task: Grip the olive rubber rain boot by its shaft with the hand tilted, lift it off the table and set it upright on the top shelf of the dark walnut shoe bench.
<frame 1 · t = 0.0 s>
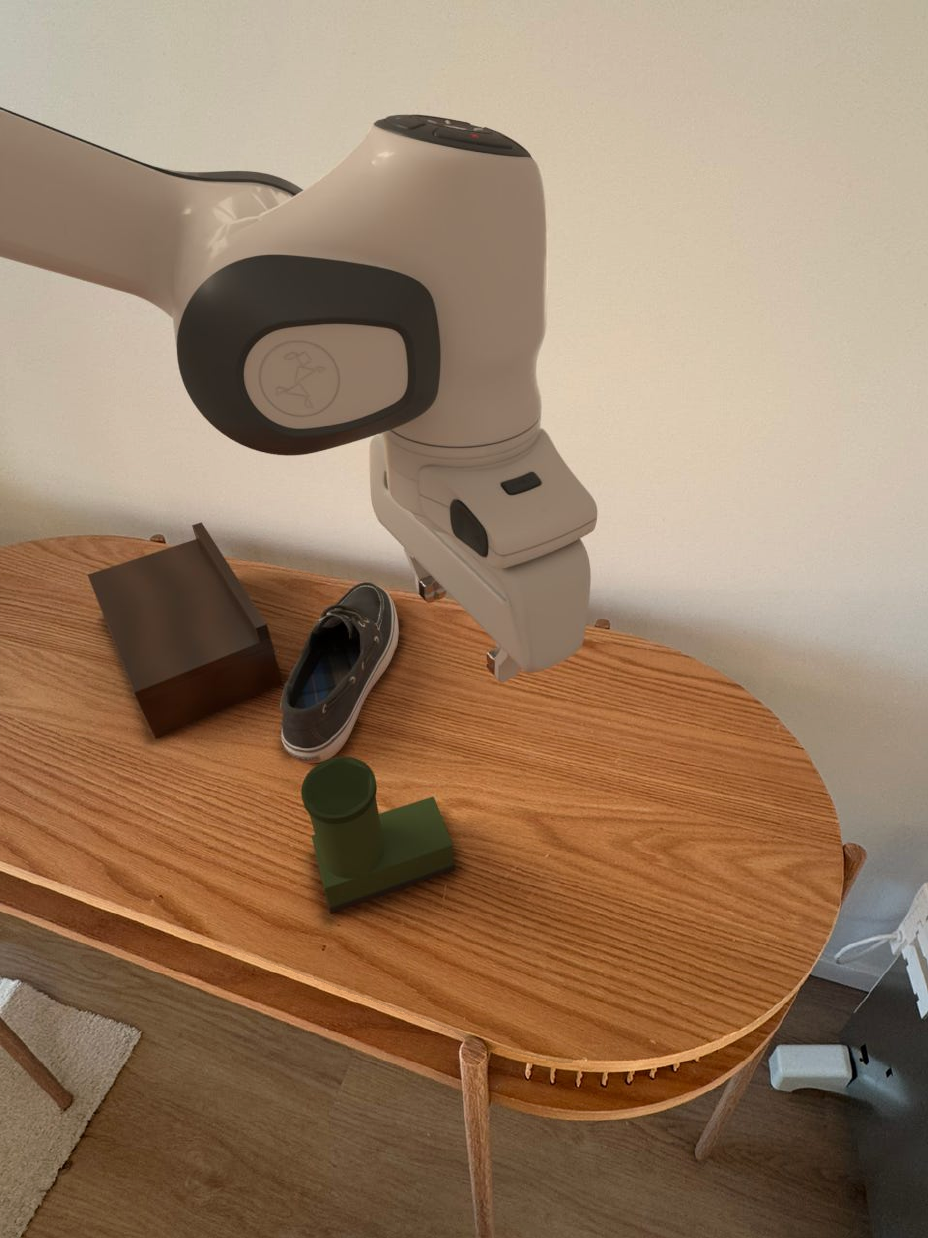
hand: (465, 632, 51), 24 cm above the table, tool pointing down, fingers open, 8 cm apart
shoe bench: (191, 650, 85), on the table
boat shoe: (343, 676, 82), on the table
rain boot: (358, 874, 64), on the table
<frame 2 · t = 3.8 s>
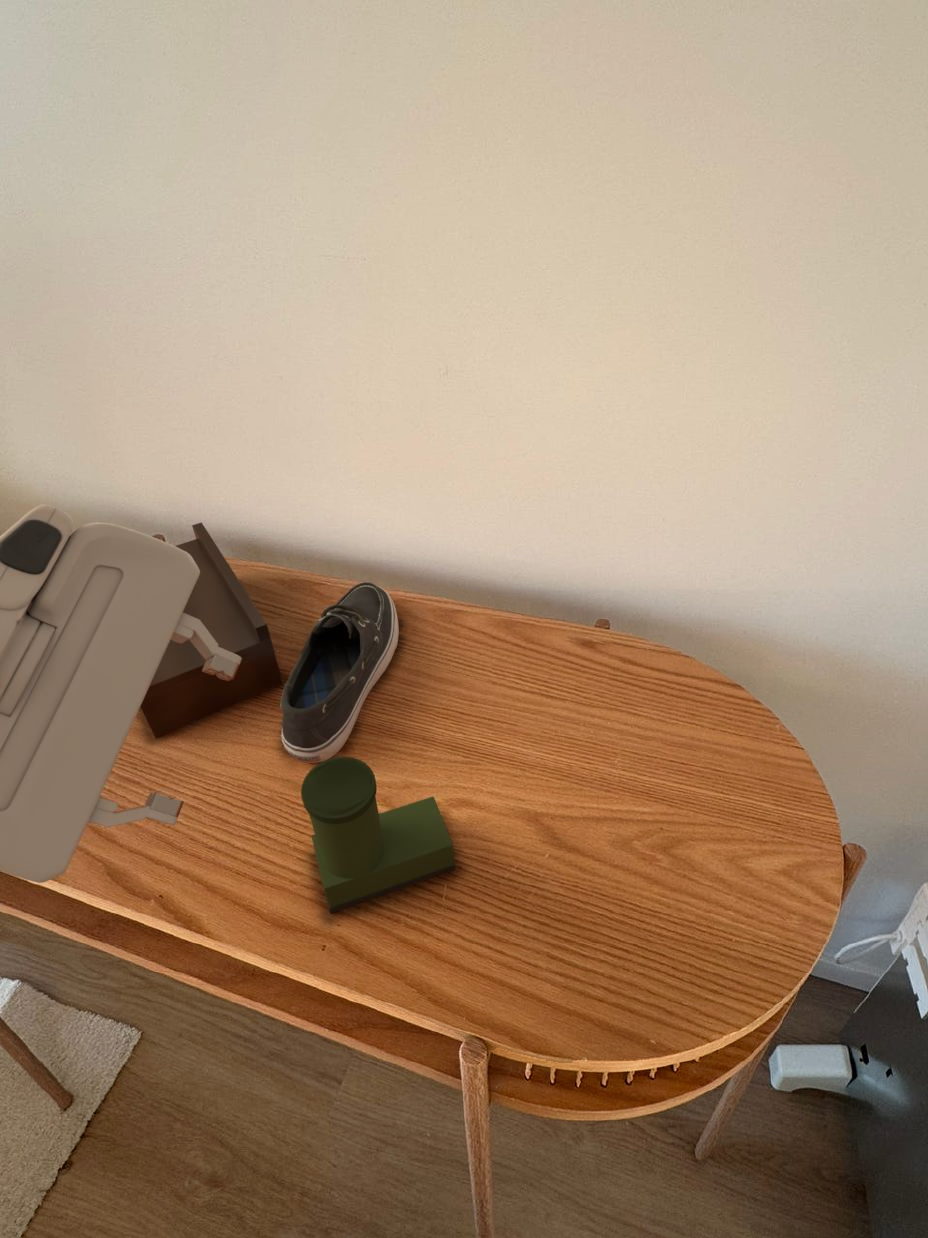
hand: (207, 738, 46), 23 cm above the table, tool tilted 50°, fingers open, 8 cm apart
nothing on the table moved.
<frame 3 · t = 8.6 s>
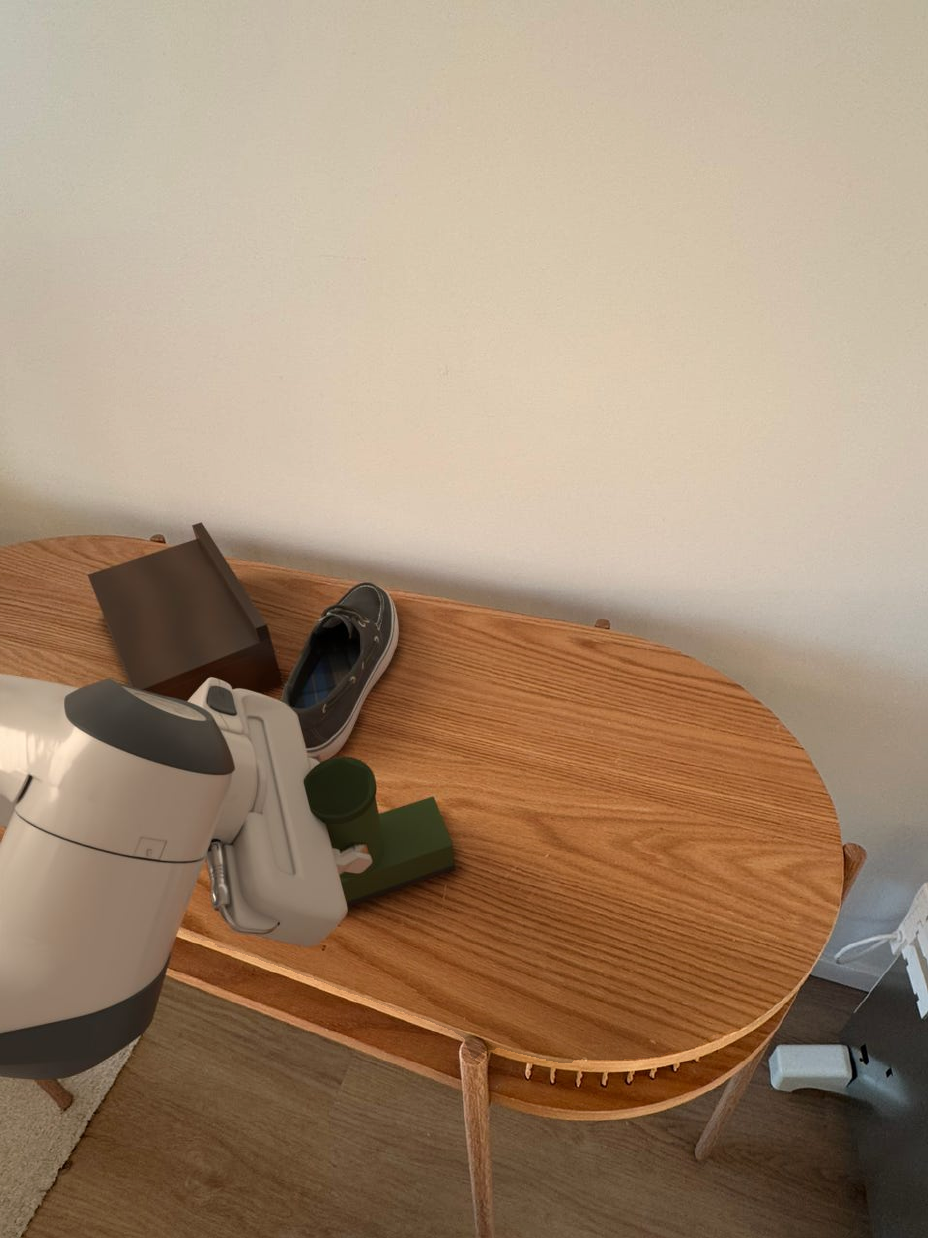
hand: (355, 824, 59), 7 cm above the table, tool tilted 45°, fingers closed on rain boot, 5 cm apart
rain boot: (358, 873, 64), on the table, touching gripper
everything else where it was.
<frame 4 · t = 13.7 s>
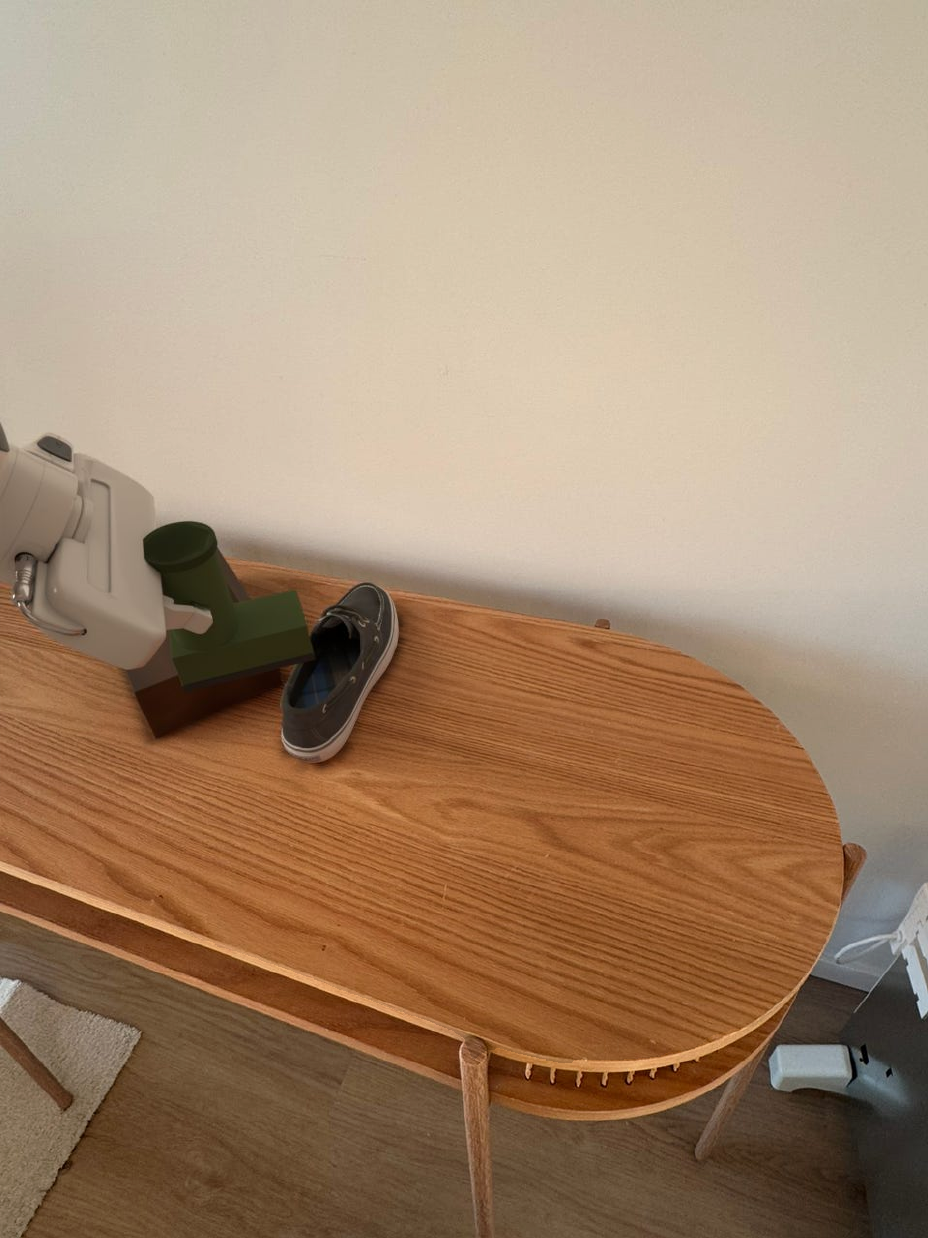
hand: (204, 596, 59), 21 cm above the table, tool tilted 45°, fingers closed on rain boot, 5 cm apart
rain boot: (218, 662, 64), point 14 cm above the table, touching gripper
everything else where it was.
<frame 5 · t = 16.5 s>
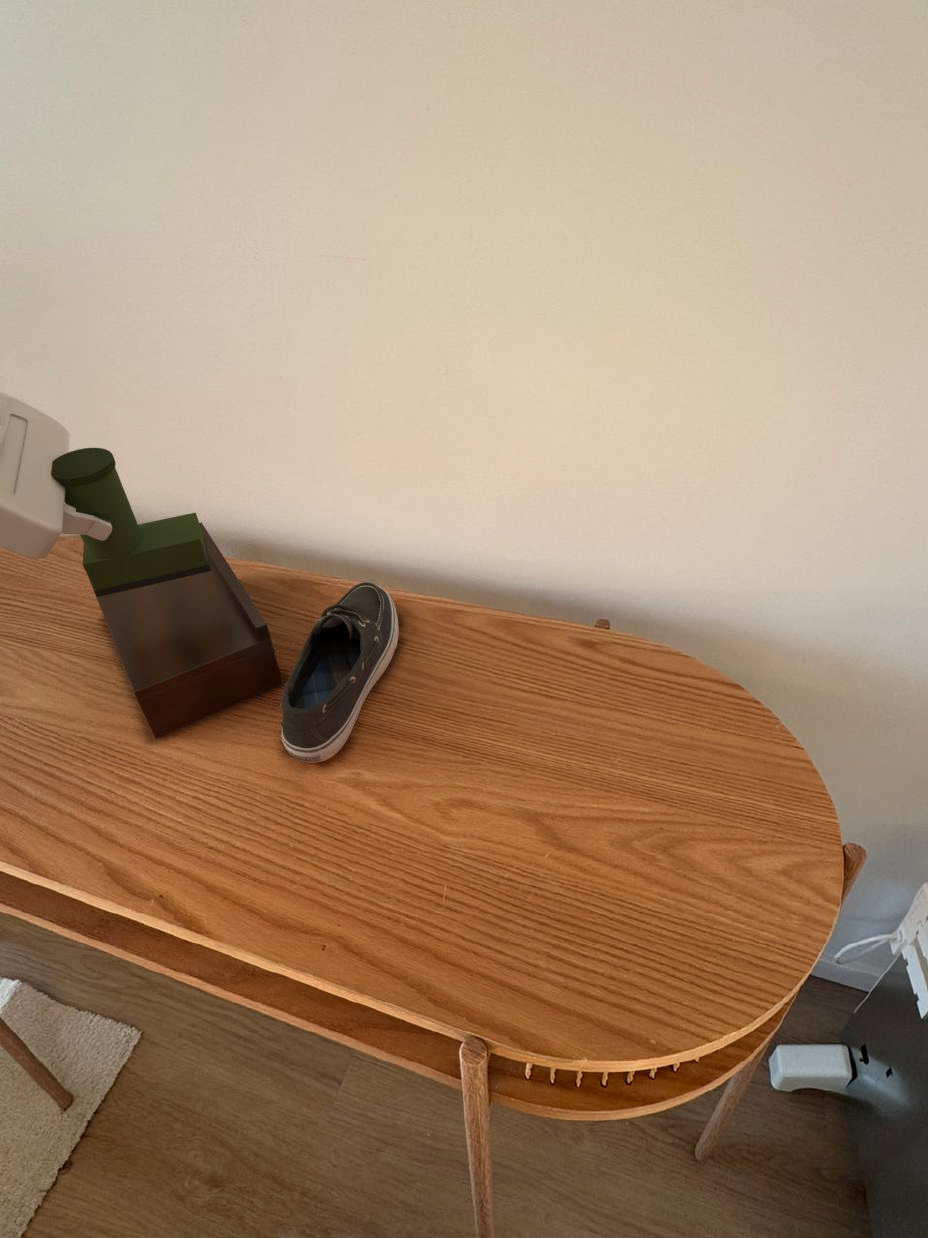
hand: (109, 512, 70), 20 cm above the table, tool tilted 45°, fingers closed on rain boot, 5 cm apart
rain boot: (128, 574, 75), point 13 cm above the table, touching gripper
everything else where it was.
when the fingers open (14 cm above the table, at t = 18.6 s): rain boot stays where it is, resting on shoe bench.
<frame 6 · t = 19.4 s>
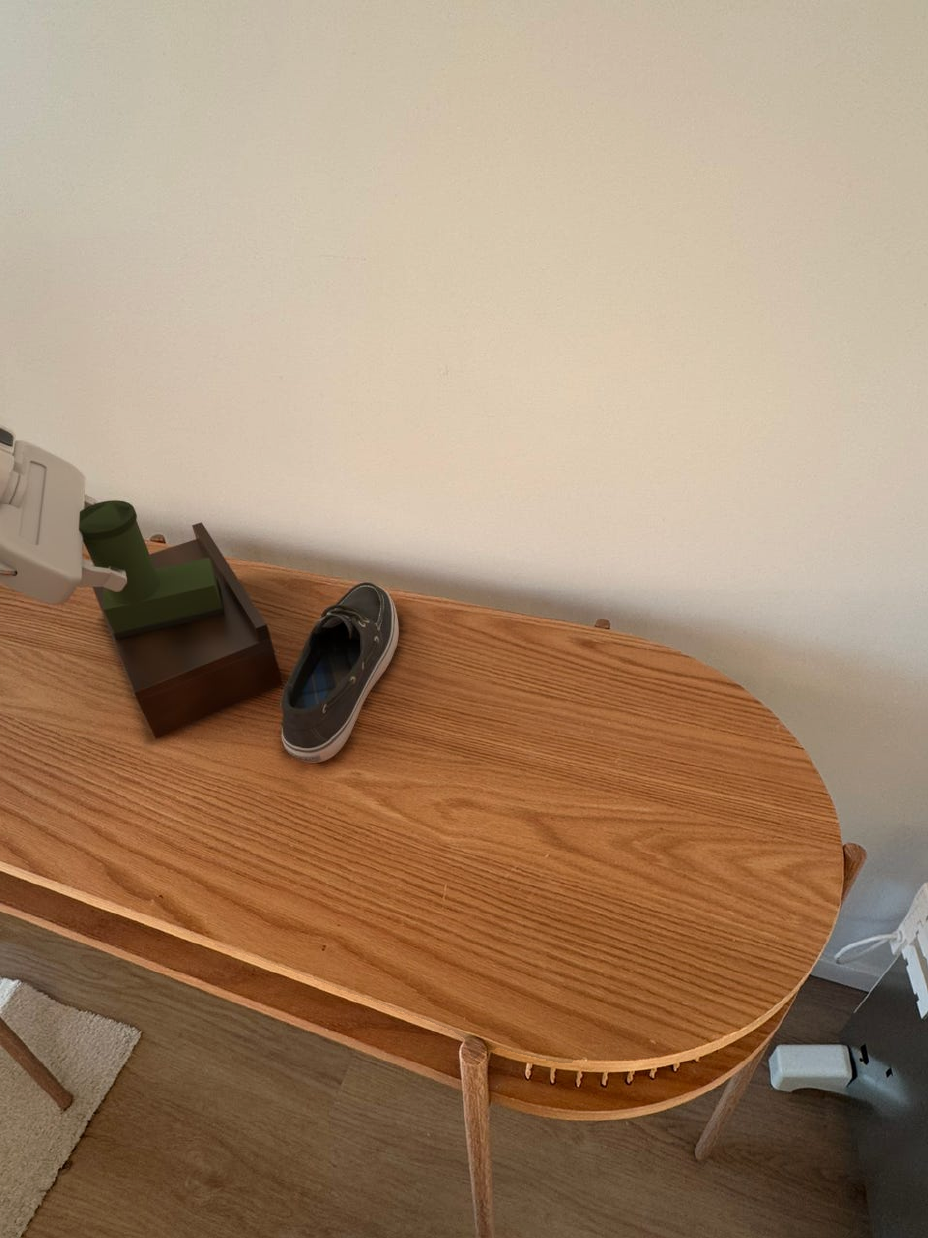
hand: (123, 554, 74), 15 cm above the table, tool tilted 45°, fingers open, 8 cm apart
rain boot: (145, 616, 79), point 7 cm above the table, touching shoe bench
everything else where it was.
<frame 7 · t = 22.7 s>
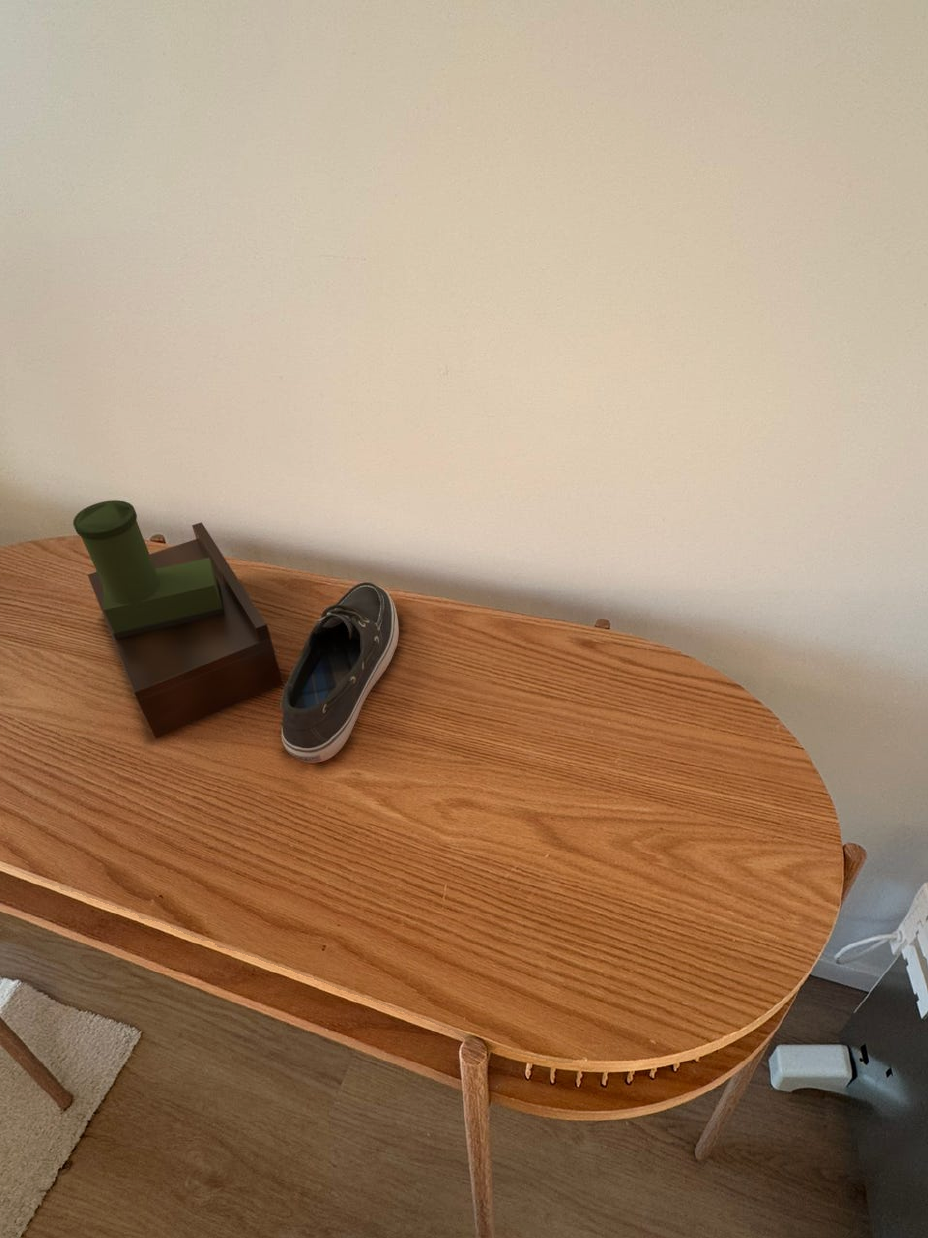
nothing on the table moved.
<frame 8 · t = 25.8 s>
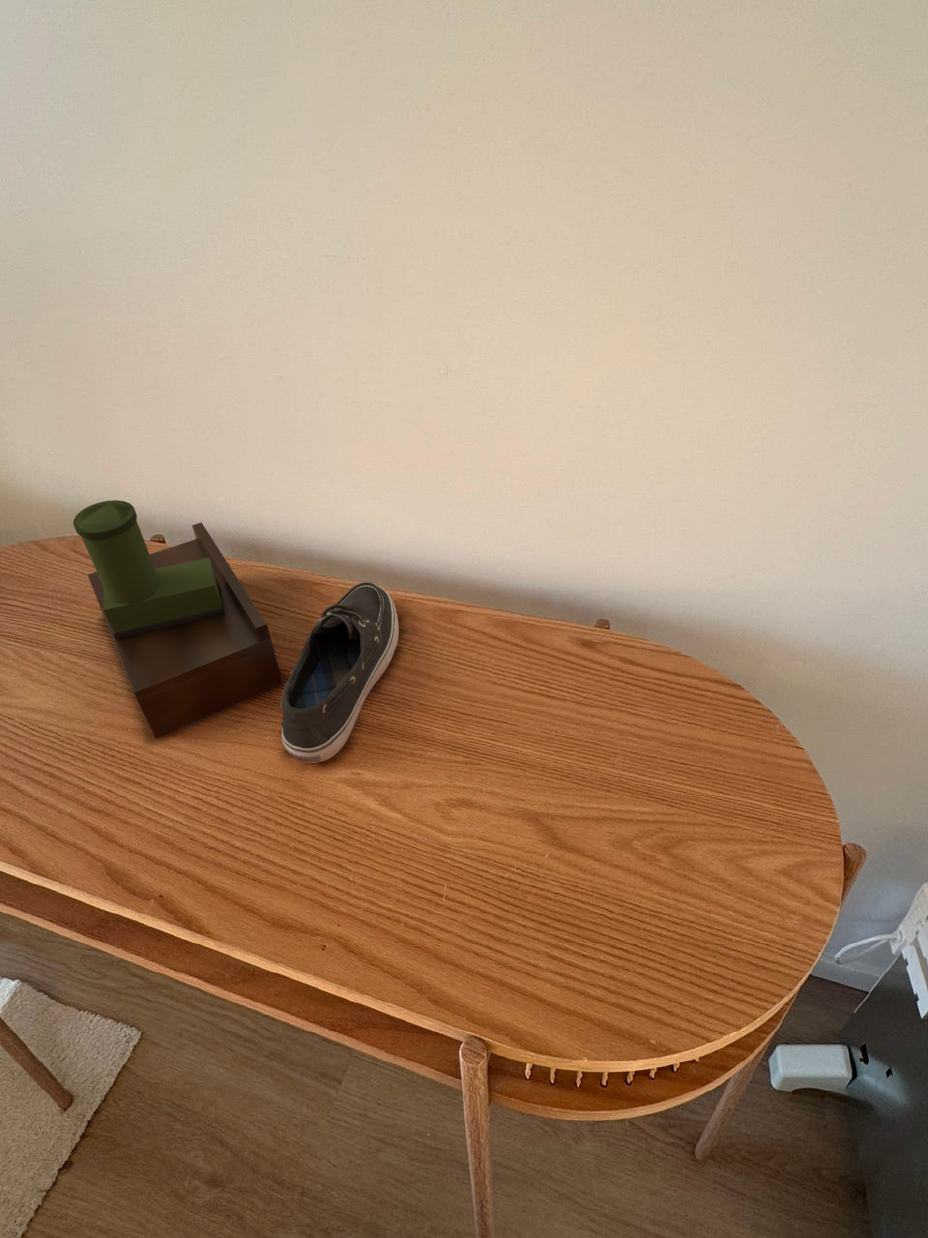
nothing on the table moved.
at the end: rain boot inside the target area on the shoe bench (1.7 cm from its centre), point 7.0 cm above the shoe bench's base; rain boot tilted 0°; the gripper is holding nothing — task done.
